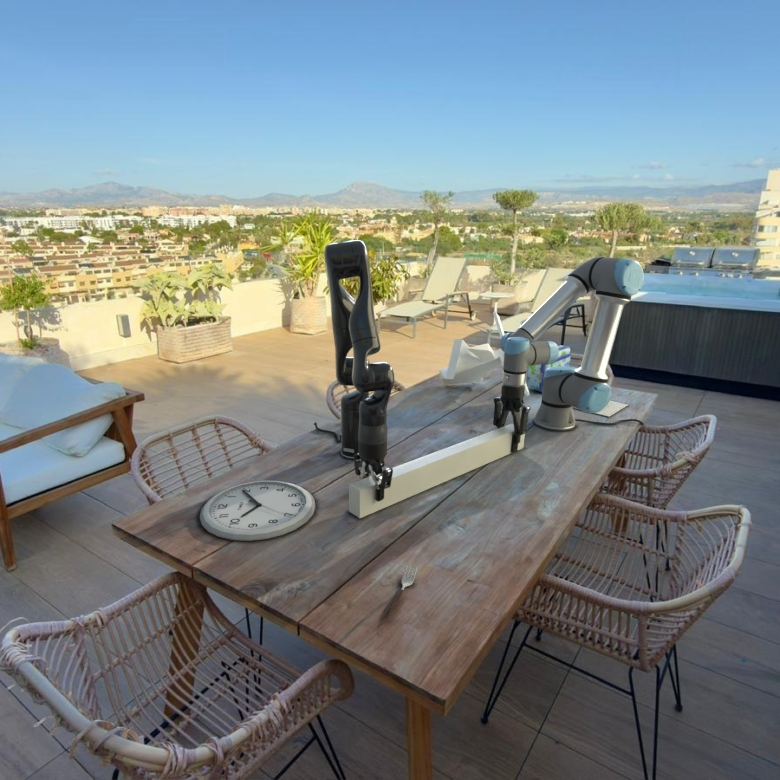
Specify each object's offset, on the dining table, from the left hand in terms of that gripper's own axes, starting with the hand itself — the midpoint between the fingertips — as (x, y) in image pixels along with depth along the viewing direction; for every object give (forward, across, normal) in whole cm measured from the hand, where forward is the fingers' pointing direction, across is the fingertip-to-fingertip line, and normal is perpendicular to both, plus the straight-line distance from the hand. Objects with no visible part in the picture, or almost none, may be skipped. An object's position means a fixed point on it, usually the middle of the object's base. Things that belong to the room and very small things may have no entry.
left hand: (372, 495), depth 141 cm
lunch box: (+3, -33, +135) cm, 139 cm away
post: (+4, 0, +30) cm, 30 cm away
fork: (+4, +31, -18) cm, 36 cm away
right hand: (+3, 0, +60) cm, 60 cm away
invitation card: (+4, -3, +130) cm, 130 cm away
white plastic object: (+3, -49, +104) cm, 115 cm away
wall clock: (+4, -18, -24) cm, 31 cm away
